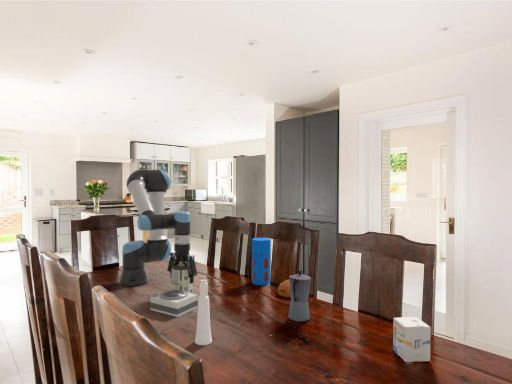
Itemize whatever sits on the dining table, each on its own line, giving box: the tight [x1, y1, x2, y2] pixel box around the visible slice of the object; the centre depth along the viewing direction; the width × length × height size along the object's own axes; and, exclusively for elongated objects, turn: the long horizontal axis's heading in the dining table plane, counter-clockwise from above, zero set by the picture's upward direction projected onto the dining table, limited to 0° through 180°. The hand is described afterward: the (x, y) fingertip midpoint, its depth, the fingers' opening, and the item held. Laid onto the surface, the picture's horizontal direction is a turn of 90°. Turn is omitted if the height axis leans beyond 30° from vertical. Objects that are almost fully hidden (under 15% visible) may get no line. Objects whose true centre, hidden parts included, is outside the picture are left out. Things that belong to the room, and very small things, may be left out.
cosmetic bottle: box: [194, 278, 213, 346], centre depth 122 cm, size 6×6×22 cm
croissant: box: [276, 278, 291, 299], centre depth 177 cm, size 14×16×8 cm
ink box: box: [392, 316, 432, 362], centre depth 112 cm, size 9×8×12 cm
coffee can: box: [171, 262, 193, 293], centre depth 170 cm, size 10×10×14 cm
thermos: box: [251, 237, 272, 286], centre depth 197 cm, size 11×11×25 cm
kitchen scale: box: [149, 288, 198, 318], centre depth 155 cm, size 16×13×7 cm
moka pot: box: [287, 270, 312, 322], centre depth 144 cm, size 10×15×20 cm, turn 161°
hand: (181, 287), depth 170 cm, fingers closed on coffee can, 10 cm apart
